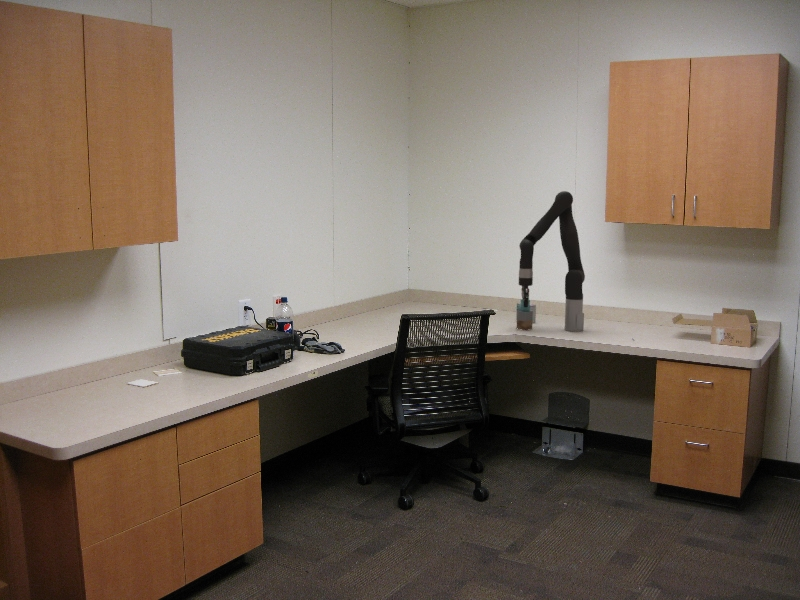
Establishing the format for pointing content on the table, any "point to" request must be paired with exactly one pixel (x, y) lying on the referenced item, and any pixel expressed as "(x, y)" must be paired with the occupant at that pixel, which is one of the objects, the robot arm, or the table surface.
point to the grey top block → (525, 316)
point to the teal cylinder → (525, 309)
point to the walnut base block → (524, 325)
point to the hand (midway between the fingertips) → (524, 306)
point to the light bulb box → (532, 308)
